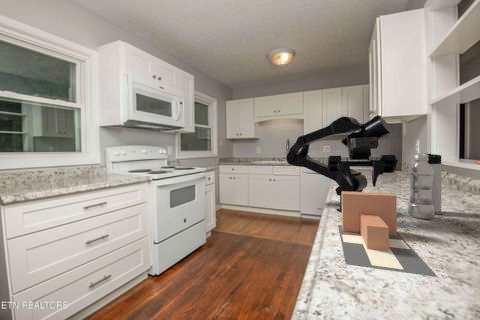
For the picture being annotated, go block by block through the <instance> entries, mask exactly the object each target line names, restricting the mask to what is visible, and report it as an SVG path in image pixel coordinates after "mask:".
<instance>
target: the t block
mask: <svg viewBox="0 0 480 320" xmlns="http://www.w3.org/2000/svg"><path fill="white" fill-rule="evenodd" d="M397 215H398V214H397V195H396V194H395V193H393V192H371V191H362V192H346V191H342V212H341V225H342V229H343V231H345V232H356V233H360V234H361V236H362V238H363V240H364V242H365V245H366V247H367V249H375V250H384V251H389V236H397V232H398V231H397V229H398V228H397V219H398V218H397Z"/></svg>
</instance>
